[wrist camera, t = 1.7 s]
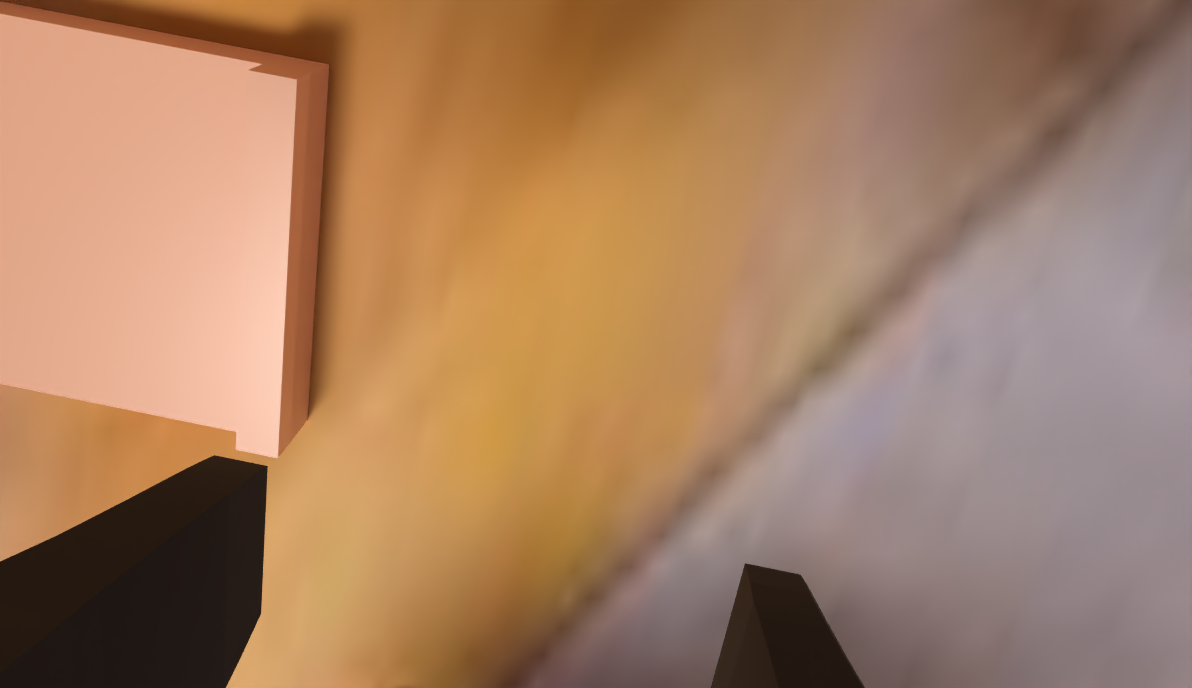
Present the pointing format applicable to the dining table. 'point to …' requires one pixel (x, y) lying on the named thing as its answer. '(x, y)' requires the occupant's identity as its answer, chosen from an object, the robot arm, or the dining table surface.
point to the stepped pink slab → (159, 222)
